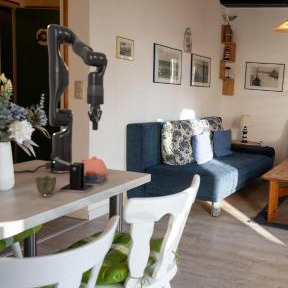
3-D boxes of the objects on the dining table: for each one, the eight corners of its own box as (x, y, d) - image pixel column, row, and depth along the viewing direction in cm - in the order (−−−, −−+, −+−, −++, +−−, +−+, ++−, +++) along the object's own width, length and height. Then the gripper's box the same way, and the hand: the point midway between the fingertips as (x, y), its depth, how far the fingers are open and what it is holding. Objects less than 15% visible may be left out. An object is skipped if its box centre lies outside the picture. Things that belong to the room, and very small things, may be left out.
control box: (73, 184, 174) (73, 176, 174) (82, 179, 184) (82, 171, 184) (99, 185, 175) (99, 177, 174) (106, 180, 185) (106, 173, 184)
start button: (84, 175, 177) (84, 172, 177) (88, 174, 181) (88, 170, 181) (93, 176, 177) (93, 172, 177) (96, 174, 181) (96, 171, 181)
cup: (60, 195, 156) (60, 176, 155) (47, 200, 149) (47, 180, 148) (45, 193, 158) (45, 174, 157) (31, 197, 151) (31, 178, 150)
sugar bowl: (97, 180, 185) (97, 159, 184) (72, 177, 188) (72, 157, 186) (111, 175, 197) (111, 156, 196) (87, 172, 200) (88, 153, 198)
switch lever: (50, 162, 162) (51, 157, 162) (55, 160, 167) (57, 155, 167) (76, 172, 163) (78, 167, 163) (81, 170, 168) (83, 165, 168)
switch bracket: (59, 191, 162) (59, 164, 160) (68, 186, 171) (69, 161, 169) (85, 192, 162) (85, 166, 161) (93, 187, 171) (93, 162, 170)
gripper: (92, 93, 185) (92, 128, 188) (81, 93, 172) (81, 131, 174) (108, 94, 185) (107, 129, 188) (98, 94, 172) (97, 132, 175)
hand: (95, 130), depth 181 cm, fingers closed
